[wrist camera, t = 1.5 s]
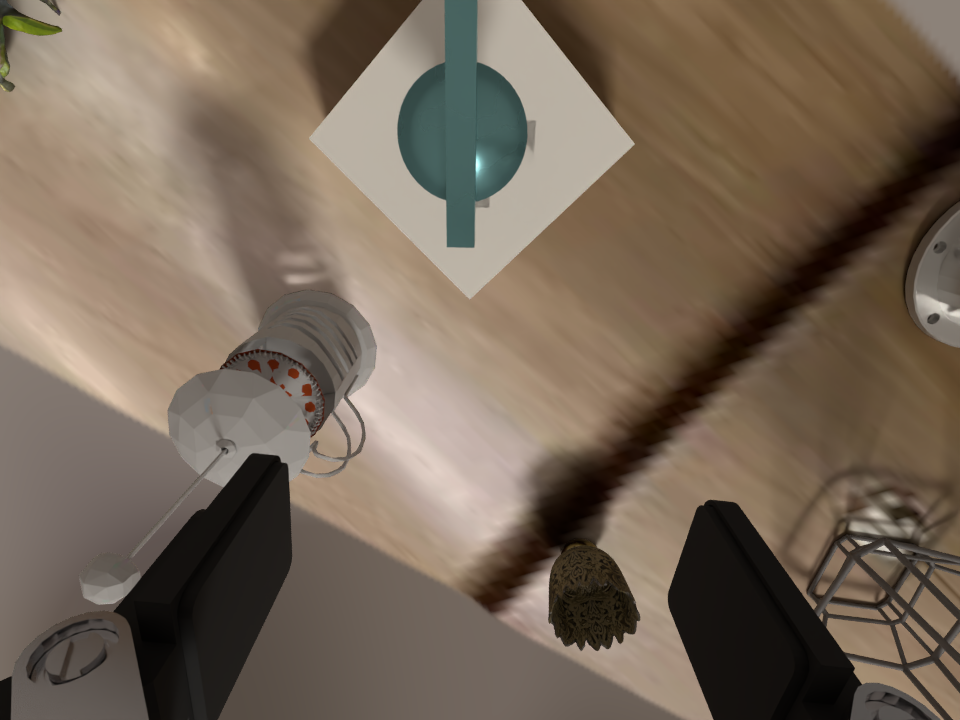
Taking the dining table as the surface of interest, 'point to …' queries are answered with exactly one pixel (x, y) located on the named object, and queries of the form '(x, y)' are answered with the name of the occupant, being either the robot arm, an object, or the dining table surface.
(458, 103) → the teal strapped cylinder
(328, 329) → the french press
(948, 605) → the geometric lantern
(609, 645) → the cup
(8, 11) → the passion flower
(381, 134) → the block
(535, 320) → the dining table surface
